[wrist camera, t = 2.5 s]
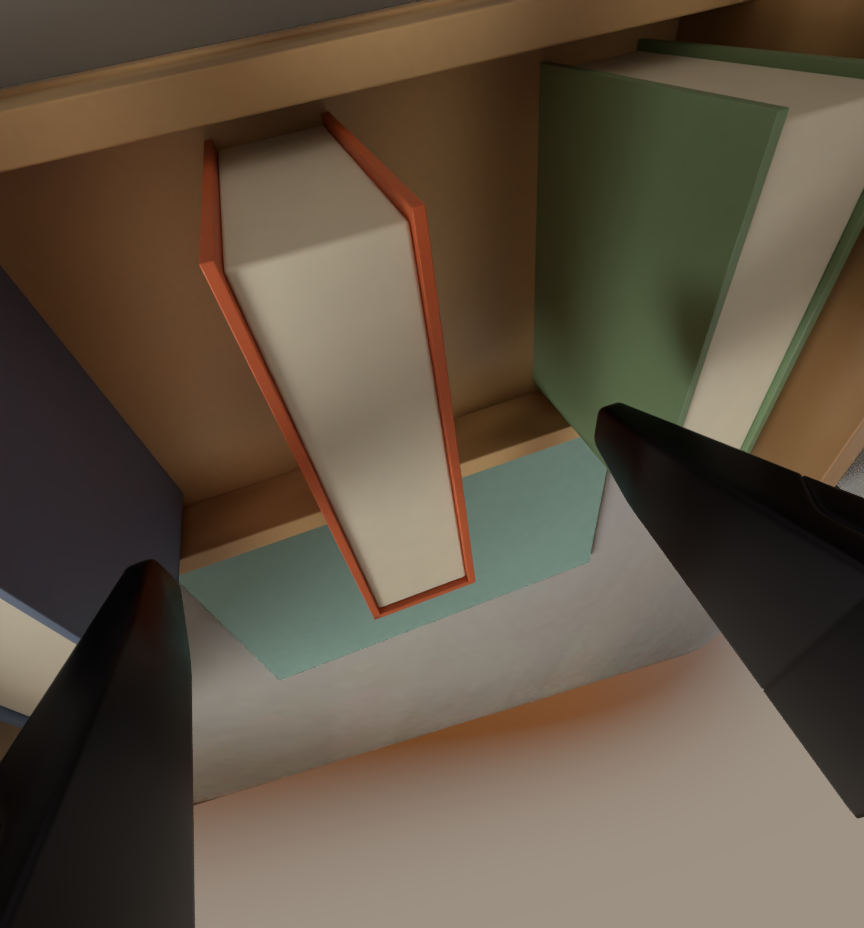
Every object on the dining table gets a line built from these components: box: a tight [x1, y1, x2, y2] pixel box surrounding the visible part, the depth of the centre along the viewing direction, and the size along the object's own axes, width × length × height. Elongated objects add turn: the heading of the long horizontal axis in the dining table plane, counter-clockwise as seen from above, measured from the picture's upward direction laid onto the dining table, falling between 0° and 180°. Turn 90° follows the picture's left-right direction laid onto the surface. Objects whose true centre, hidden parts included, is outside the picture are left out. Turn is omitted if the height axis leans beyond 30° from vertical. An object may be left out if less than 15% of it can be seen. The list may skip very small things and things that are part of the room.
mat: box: [179, 437, 607, 680], centre depth 27 cm, size 22×14×1 cm, turn 98°
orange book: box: [199, 112, 476, 620], centre depth 12 cm, size 3×10×8 cm, turn 8°
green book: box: [533, 38, 864, 473], centre depth 13 cm, size 3×10×8 cm, turn 8°
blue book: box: [0, 265, 183, 729], centre depth 11 cm, size 3×10×8 cm, turn 8°
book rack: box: [0, 0, 864, 762], centre depth 12 cm, size 24×13×10 cm, turn 98°
